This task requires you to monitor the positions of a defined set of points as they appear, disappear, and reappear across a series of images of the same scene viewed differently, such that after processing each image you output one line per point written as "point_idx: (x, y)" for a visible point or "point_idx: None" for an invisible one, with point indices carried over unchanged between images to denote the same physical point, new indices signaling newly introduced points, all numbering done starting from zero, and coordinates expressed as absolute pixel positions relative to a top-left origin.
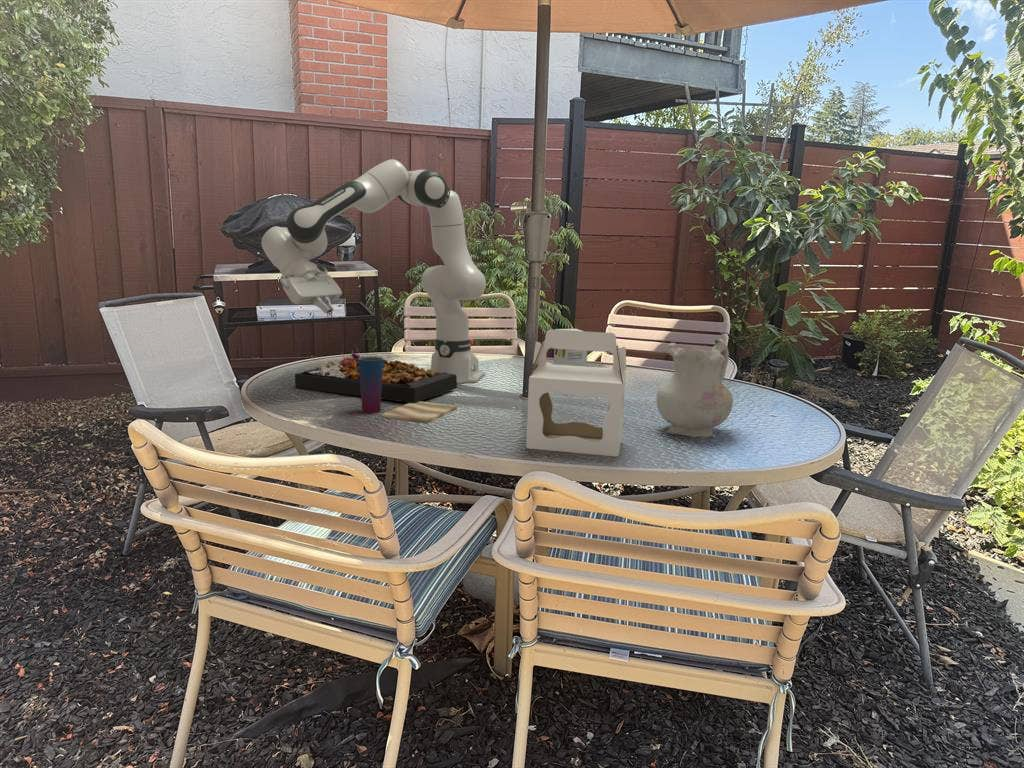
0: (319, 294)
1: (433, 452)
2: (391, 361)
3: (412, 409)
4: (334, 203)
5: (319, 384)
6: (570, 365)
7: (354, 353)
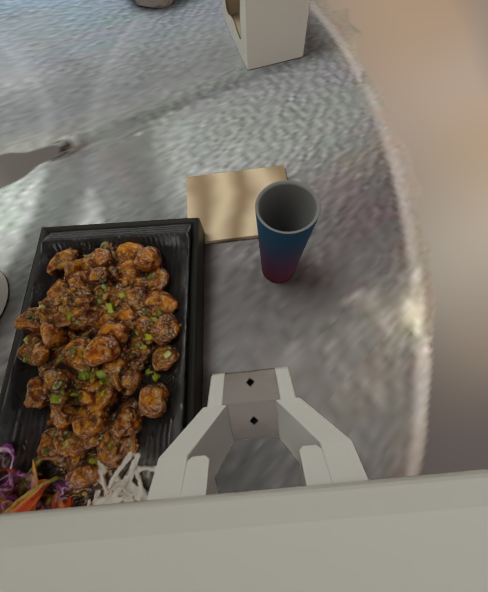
0: (336, 493)
1: (382, 104)
2: (39, 354)
3: (244, 212)
4: None
5: None
6: None
7: None
